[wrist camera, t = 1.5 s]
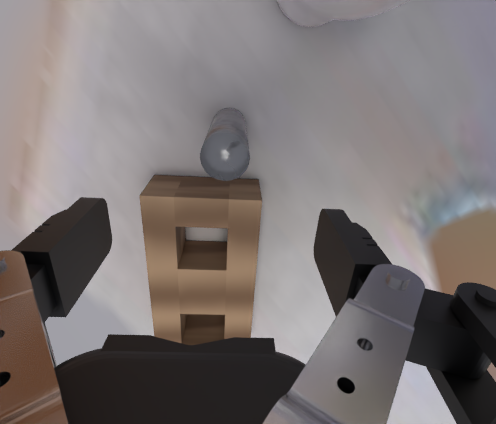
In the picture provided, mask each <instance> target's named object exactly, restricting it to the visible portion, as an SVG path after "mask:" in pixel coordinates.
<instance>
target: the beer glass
mask: <svg viewBox="0 0 496 424" xmlns="http://www.w3.org/2000/svg"><path fill="white" fill-rule="evenodd" d="M408 1H410V0H277V3H278V5H279V7H280V9H281V10H282V12H283V13H284V14H285V16H286V17H287V18H288V19H290V20H291V21H292V22H294V23H296V24H298V25H300V26H304V27H317V26H321V25H324V24H326V23H328V22H330V21H332V20H333V19H335V20H345V21H351V20H359V19H364V18H368V17H373V16H376V15H379V14H382V13H384V12H387V11H389V10H392V9H394V8H396V7H398V6H400V5H402V4H404V3H406V2H408Z"/></svg>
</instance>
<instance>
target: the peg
mask: <svg viewBox="0 0 496 424" xmlns="http://www.w3.org/2000/svg"><path fill="white" fill-rule="evenodd" d="M200 159H201V164H202V166H203V168H204V170H205V171H206V172H207V173H208V174H209V175H210V176H211V177H213V178H215V179H218V180H221V181H229V180H234V179H236V178H238V177H240V176H241V175H242V174H243V173H244V172H245V171H246V169H247V167H248V165H249V160H250V155H249V146H248V138H247V130H246V122H245V119H244V117H243V115H242V114H241V113H240V112H239V111H237V110H235V109H232V108H225V109H222V110H220V111H219V112H218V113H217V114H216V115H215V117H214V119H213V121H212V124H211V126H210V129H209V131H208V134H207V136H206V139H205V141H204V144H203V146H202V149H201V153H200Z"/></svg>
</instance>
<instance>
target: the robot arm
mask: <svg viewBox="0 0 496 424" xmlns="http://www.w3.org/2000/svg"><path fill="white" fill-rule="evenodd" d="M111 244H112V234H111V227H110V221H109V214H108V208H107V203H106V201H105V199H103V198H84V197H81V198H80V199H78V200H77V201H76V202H75V203H74V204H73V205H72V206H71V207H69V208H68V209H67V210H64V211H61V212H59V213H57V214H55V215H53V216H51V217H50V218H49V219H47V220H46V221H45V222H44V223H43V224H42V226H41V225H40V226H39V227H38V228H37V229H36V230H35V232H32V233H31V234H30V235H29V236H27V237H26V238H25V239H24V240H23V241H22V242H20V243H19V244H18V245H17V246H16V247H15V248H13V249H12V250H11V251H10V250H8V251H7V250H6V251H0V424H386V423H387V420H388V416H389V413H390V410H391V406H392V403H393V400H394V396H395V393H396V390H397V386H398V383H399V379H400V376H401V373H402V369H403V366H404V363H405V360H406V361H410V362H413V363H416V364H420V365H423V366H426V367H427V369H428V371H429V373H430V375H431V377H432V379H433V380H434V382H435V384H436V386H437V388H438V390H439V391H440V393H441V395H442V397H443V399H444V401H445V403H446V404H447V406H448V408H449V410H450V412H451V414H452V416H453V417H454V419H455V421H456V423H457V424H496V382H495V380H494V379H493V378H492V376H491V375H490V374H489V372H488V371H487V368H488V367H489V365H490V364H491V362H492V363H493V365H494V366H495V367H496V290H495V289H493V288H490V287H488V286H485V285H481V284H477V283H462V284H460V285H458V287H457V289H456V291H455V293H454V295H450V294H445V293H441V292H437V291H433V290H429V289H425V286H424V283H423V281H422V280H421V279H420V278H419V277H418V276H417V275H416V274H415V273H413V272H411V271H410V270H408V269H405V268H403V267H400V266H396V265H392V263H391V262H390V261H389V259H388V258H387V257H386V255H385V254H384V253H383V251H382V250H381V249H380V247H379V246H377V243H376V242H375V241H374V240H373V239H372V236H371V235H370V234H369V232H368V231H367V230H366V229H365V228H363V227H362V226H360V225H359V224H357V223H352V222H351V221H350V219H349V218H348V216H347V215H346V213H345V212H344V211H343V210H340V209H322V210H321V212H320V216H319V221H318V227H317V232H316V237H315V243H314V258H315V262H316V265H317V267H318V270H319V272H320V275H321V278H322V280H323V283H324V286H325V288H326V291H327V294H328V296H329V299H330V302H331V304H332V307H333V310H334V312H335V315H336V318H335V320H334V322H333V323H332V325H331V326H330V328H329V329H328V331H327V333H326V334H325V336H324V337H323V339H322V340H321V342H320V344H319V345H318V347H317V348H316V350H315V351H314V353H313V355H312V356H311V358H310V359H309V361H308V362H307V364H306V365H305V364H304V363H302V362H301V361H299V360H297V359H295V358H293V357H290V356H288V355H285V354H282V353H279V352H275V344H274V338H241V337H233V338H228V339H223V340H218V341H213V342H207V343H202V344H197V345H186V344H182V343H178V342H174V341H170V340H166V339H162V338H158V337H154V336H150V335H108V337H107V339H106V341H105V343H104V345H103V347H102V349H97V350H93V351H89V352H86V353H83V354H81V355H78V356H75V357H74V358H71V359H69V360H67V361H65V362H63V363H61V364H60V365H58V366H57V364H56V360H55V357H54V354H53V350H52V346H51V343H50V339H49V336H48V332H47V329H46V326H45V321H46V320H47V318H48V317H66V316H67V315H68V313H69V312H70V310H71V308H72V307H73V306H74V304H75V303H76V301H77V300H78V298H79V297H80V295H81V294H82V292H83V291H84V289H85V288H86V286H87V285H88V283H89V282H90V280H91V279H92V277H93V276H94V274H95V273H96V271H97V270H98V268H99V267H100V265H101V264H102V262H103V261H104V259H105V258H106V256H107V255H108V253H109V251H110V249H111Z"/></svg>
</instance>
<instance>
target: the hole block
mask: <svg viewBox="0 0 496 424" xmlns="http://www.w3.org/2000/svg"><path fill="white" fill-rule="evenodd" d="M140 205H141V214H142V224H143V233H144V242H145V252H146V261H147V270H148V280H149V289H150V298H151V308H152V317H153V327H154V336H155V337H158V338H162V339H166V340H170V341H174V342H178V343H182V344H186V345H197V344H202V343H207V342H213V341H218V340H223V339H228V338H233V337H241V338H250V337H251V325H252V313H253V301H254V289H255V278H256V266H257V254H258V242H259V231H260V219H261V207H262V197H261V192H260V186H259V180H258V179H234V180H229V181H221V180H218V179H215V178H213V177H191V176H168V175H154V176H153V178H152V179H151V180H150V182H149V183H148V185H147V186H146V187H145V189H144V190H143V192H142V193H141V194H140ZM185 227H204V228H228V241H227V242H215V241H186V234H185Z"/></svg>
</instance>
